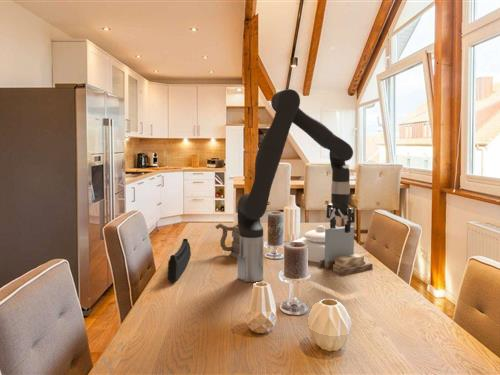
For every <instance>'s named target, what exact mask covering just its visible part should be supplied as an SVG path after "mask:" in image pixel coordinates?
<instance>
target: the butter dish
mask: <svg viewBox="0 0 500 375" xmlns="http://www.w3.org/2000/svg"><path fill="white" fill-rule="evenodd" d="M325 229H327V228H326V227H325V226H324V225H321V224H319V225H317V226H316V227H315V229H312V230H309V231H306V232H305V233H304V234H303V237H300V238H299V239H295V240H293V241H292V242H303V243H305V244H306V245H307V248H308V260H307V261H310V262H316V263H319V264H320V260H321V259H325Z"/></svg>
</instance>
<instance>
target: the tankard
mask: <svg viewBox="0 0 500 375" xmlns="http://www.w3.org/2000/svg"><path fill="white" fill-rule="evenodd" d="M215 229H216V230H218V229H221V230H222V235H221V239H220V240H219V242H220V247H221V249H222V250H223V251H225V252H230V257H233V258H236V259H238V254H240V232H239V228H238V223H237V224H234V225H233V226H227V225H224V224H223V223H218V224H217V225H215ZM228 231H229V232H230V231H231V237H232V242H231V246H227V245H226V239H227V236H228Z"/></svg>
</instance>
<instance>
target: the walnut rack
mask: <svg viewBox="0 0 500 375" xmlns="http://www.w3.org/2000/svg"><path fill="white" fill-rule="evenodd" d="M333 264H335V261H330V262H326V268H325V267H324V266H325V259H321V260H320V263H319V265H318V266H317V268H320V269H322V270H325V271H327V272H330V273H333V274H334V275H338V276H342V277H343V276H345V275H350V274H355V273H359V272H363V271H364V272H365V271H368V270H372V269H374V268H373V263H372V262H370V263H365V265H360V266H355V267H351V268H346V269H341V270H340V273H338V272H336V271H333Z"/></svg>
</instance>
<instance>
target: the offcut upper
mask: <svg viewBox="0 0 500 375" xmlns="http://www.w3.org/2000/svg"><path fill="white" fill-rule="evenodd" d="M364 261H365V257H364V255H362V254H359V253H354V254H353V255H348V256H343V257H338V258H335V264H336V265H339V266H347V265H352V264H357V263H361V262H364Z"/></svg>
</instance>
